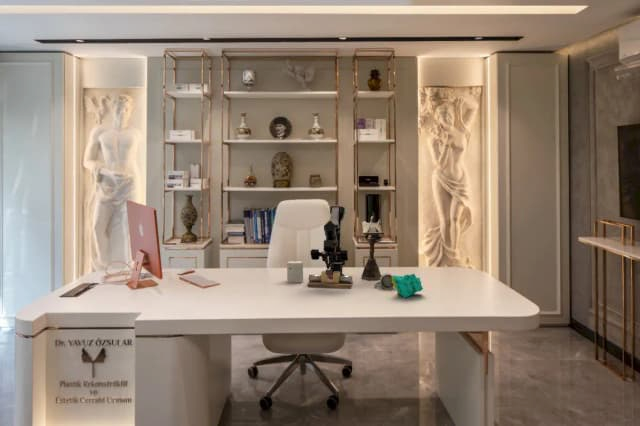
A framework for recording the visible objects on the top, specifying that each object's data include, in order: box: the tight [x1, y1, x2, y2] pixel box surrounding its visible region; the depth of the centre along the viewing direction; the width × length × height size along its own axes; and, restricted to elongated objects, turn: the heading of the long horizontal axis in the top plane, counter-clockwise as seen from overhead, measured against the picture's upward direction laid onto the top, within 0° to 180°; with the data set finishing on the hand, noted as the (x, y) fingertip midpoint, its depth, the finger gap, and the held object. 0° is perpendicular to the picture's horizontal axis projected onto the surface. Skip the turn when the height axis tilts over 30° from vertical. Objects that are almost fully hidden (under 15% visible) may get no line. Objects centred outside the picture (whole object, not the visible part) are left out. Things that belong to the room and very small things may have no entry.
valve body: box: [308, 270, 353, 284], centre depth 252 cm, size 4×22×6 cm, turn 81°
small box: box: [286, 260, 304, 283], centre depth 261 cm, size 8×6×10 cm
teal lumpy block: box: [392, 273, 424, 299], centre depth 230 cm, size 15×12×13 cm
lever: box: [325, 269, 333, 280], centre depth 248 cm, size 2×3×11 cm
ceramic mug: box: [373, 272, 394, 290], centre depth 248 cm, size 10×8×7 cm
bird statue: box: [361, 215, 385, 281], centre depth 267 cm, size 17×13×35 cm
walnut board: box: [307, 279, 354, 290], centre depth 253 cm, size 12×22×2 cm, turn 81°
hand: (327, 268), depth 241 cm, fingers closed
